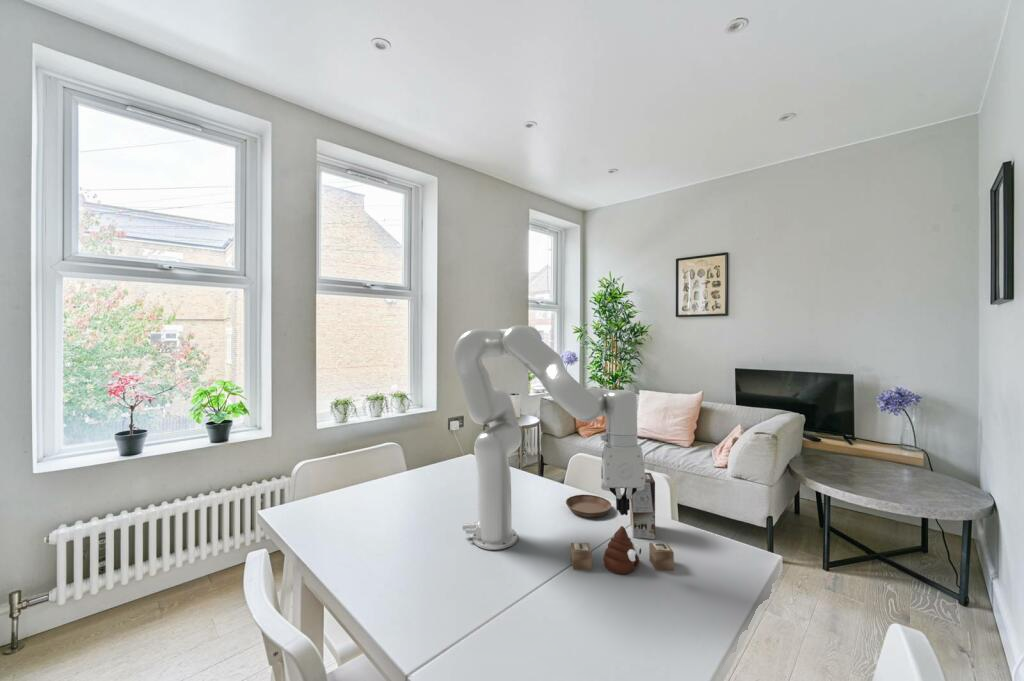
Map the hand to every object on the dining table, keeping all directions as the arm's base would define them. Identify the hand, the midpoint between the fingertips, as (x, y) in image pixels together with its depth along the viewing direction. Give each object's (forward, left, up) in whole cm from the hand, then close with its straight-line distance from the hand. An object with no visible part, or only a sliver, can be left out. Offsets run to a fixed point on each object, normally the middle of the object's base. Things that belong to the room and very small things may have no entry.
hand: (623, 512), depth 103 cm
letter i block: (-11, 0, -13) cm, 17 cm away
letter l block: (+9, 0, -13) cm, 16 cm away
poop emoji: (0, 0, -13) cm, 13 cm away
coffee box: (+10, +18, -13) cm, 25 cm away
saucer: (-4, +33, -14) cm, 36 cm away
